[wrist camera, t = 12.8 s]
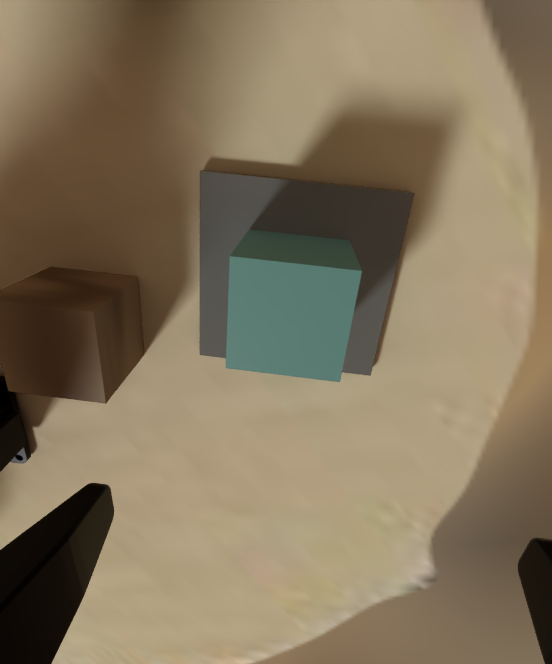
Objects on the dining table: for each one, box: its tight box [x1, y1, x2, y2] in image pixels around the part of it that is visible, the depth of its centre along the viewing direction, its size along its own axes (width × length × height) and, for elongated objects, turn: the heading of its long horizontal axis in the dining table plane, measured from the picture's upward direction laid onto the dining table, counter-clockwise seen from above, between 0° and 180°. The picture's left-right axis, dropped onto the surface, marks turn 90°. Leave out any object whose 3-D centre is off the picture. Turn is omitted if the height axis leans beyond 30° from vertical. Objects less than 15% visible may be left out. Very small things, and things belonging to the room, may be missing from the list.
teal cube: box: [226, 229, 362, 382], centre depth 16 cm, size 4×4×4 cm
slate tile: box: [200, 170, 414, 375], centre depth 18 cm, size 9×9×1 cm
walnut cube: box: [0, 267, 144, 403], centre depth 18 cm, size 4×4×4 cm
